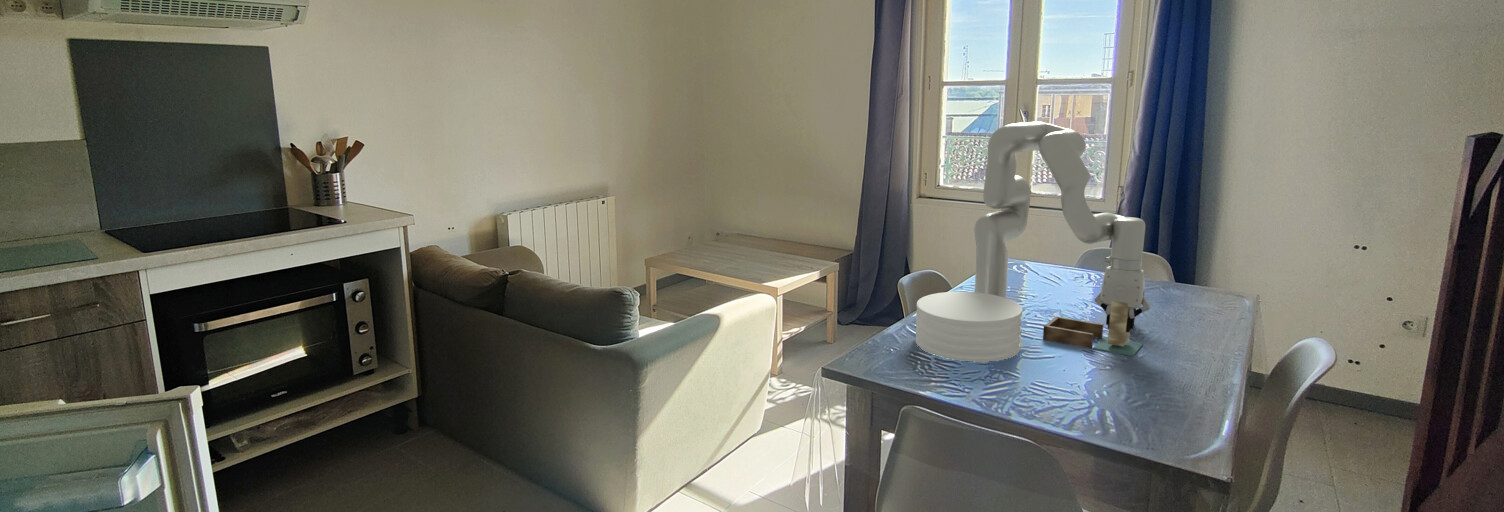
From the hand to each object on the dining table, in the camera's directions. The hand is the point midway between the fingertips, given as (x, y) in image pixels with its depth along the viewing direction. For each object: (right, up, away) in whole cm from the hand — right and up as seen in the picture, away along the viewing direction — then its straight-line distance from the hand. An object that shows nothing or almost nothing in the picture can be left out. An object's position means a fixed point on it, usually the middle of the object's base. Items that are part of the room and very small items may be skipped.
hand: (1119, 328), depth 211 cm
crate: (-9, -4, +8) cm, 13 cm away
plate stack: (-40, -5, +6) cm, 41 cm away
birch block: (0, -4, +1) cm, 4 cm away
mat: (0, -5, +1) cm, 5 cm away
